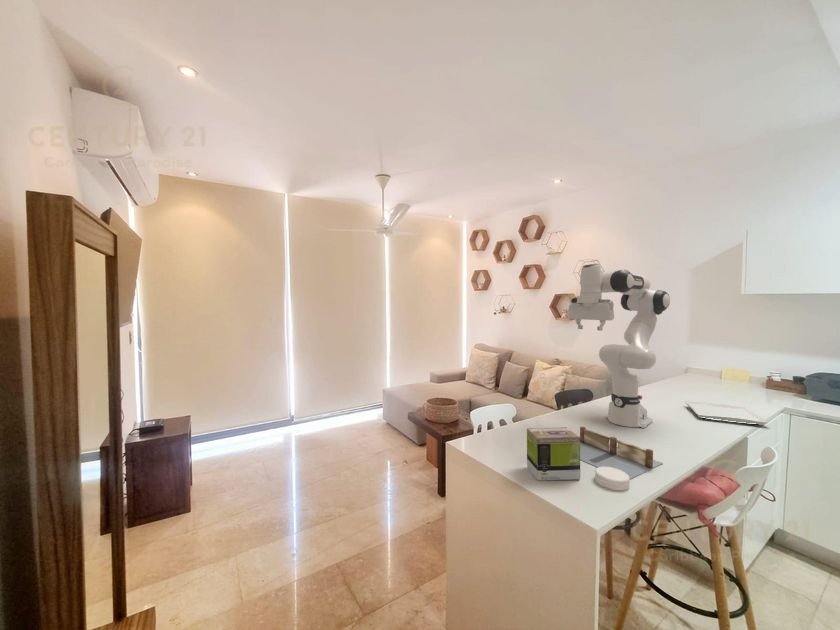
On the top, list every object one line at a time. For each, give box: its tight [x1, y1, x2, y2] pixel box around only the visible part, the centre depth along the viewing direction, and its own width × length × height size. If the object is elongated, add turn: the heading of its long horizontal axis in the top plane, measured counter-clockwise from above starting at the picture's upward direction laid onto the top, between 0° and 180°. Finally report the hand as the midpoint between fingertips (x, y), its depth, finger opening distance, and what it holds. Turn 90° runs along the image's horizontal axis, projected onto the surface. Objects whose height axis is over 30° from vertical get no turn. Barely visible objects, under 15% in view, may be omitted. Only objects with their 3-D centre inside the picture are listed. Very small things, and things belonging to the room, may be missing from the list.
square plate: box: [684, 401, 769, 426], centre depth 181 cm, size 27×27×4 cm
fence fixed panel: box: [579, 426, 618, 455], centre depth 139 cm, size 2×15×6 cm, turn 31°
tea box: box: [526, 426, 581, 481], centre depth 117 cm, size 15×10×15 cm
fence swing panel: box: [616, 439, 654, 469], centre depth 126 cm, size 13×2×6 cm, turn 31°
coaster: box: [594, 467, 631, 492], centre depth 112 cm, size 10×10×4 cm
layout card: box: [580, 442, 664, 480], centre depth 131 cm, size 24×28×1 cm
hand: (589, 329), depth 153 cm, fingers open, 8 cm apart
